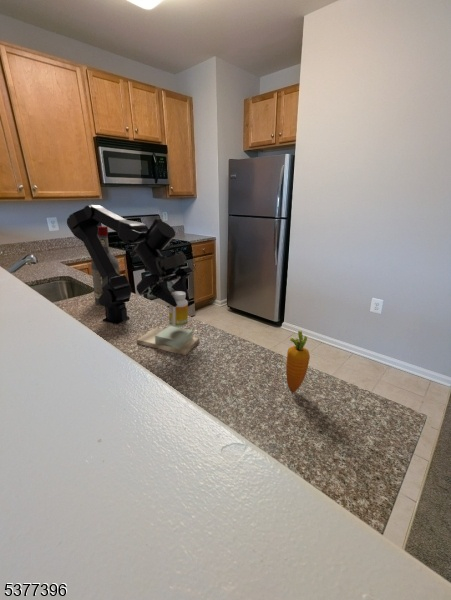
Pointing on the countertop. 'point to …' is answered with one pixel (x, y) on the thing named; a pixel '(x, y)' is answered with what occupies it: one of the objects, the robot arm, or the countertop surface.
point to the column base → (151, 342)
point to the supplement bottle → (179, 310)
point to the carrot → (297, 362)
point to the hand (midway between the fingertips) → (182, 303)
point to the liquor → (96, 275)
